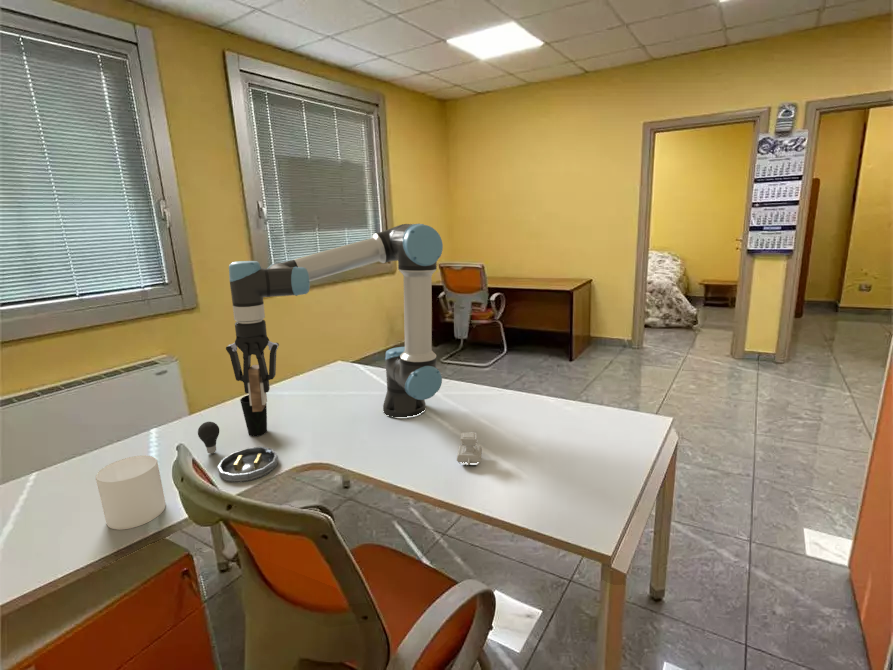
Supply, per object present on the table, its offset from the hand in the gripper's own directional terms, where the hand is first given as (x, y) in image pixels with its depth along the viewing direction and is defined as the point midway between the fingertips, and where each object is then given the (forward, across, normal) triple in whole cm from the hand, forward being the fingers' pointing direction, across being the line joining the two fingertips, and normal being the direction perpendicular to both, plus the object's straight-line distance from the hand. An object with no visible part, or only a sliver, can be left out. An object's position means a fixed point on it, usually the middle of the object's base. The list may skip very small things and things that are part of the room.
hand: (258, 403), depth 125 cm
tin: (+18, +3, +3) cm, 18 cm away
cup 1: (+18, +24, +20) cm, 37 cm away
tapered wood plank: (+2, 0, 0) cm, 2 cm away
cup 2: (+18, +7, -19) cm, 27 cm away
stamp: (+17, -58, +11) cm, 61 cm away
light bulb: (+18, +16, -7) cm, 25 cm away
